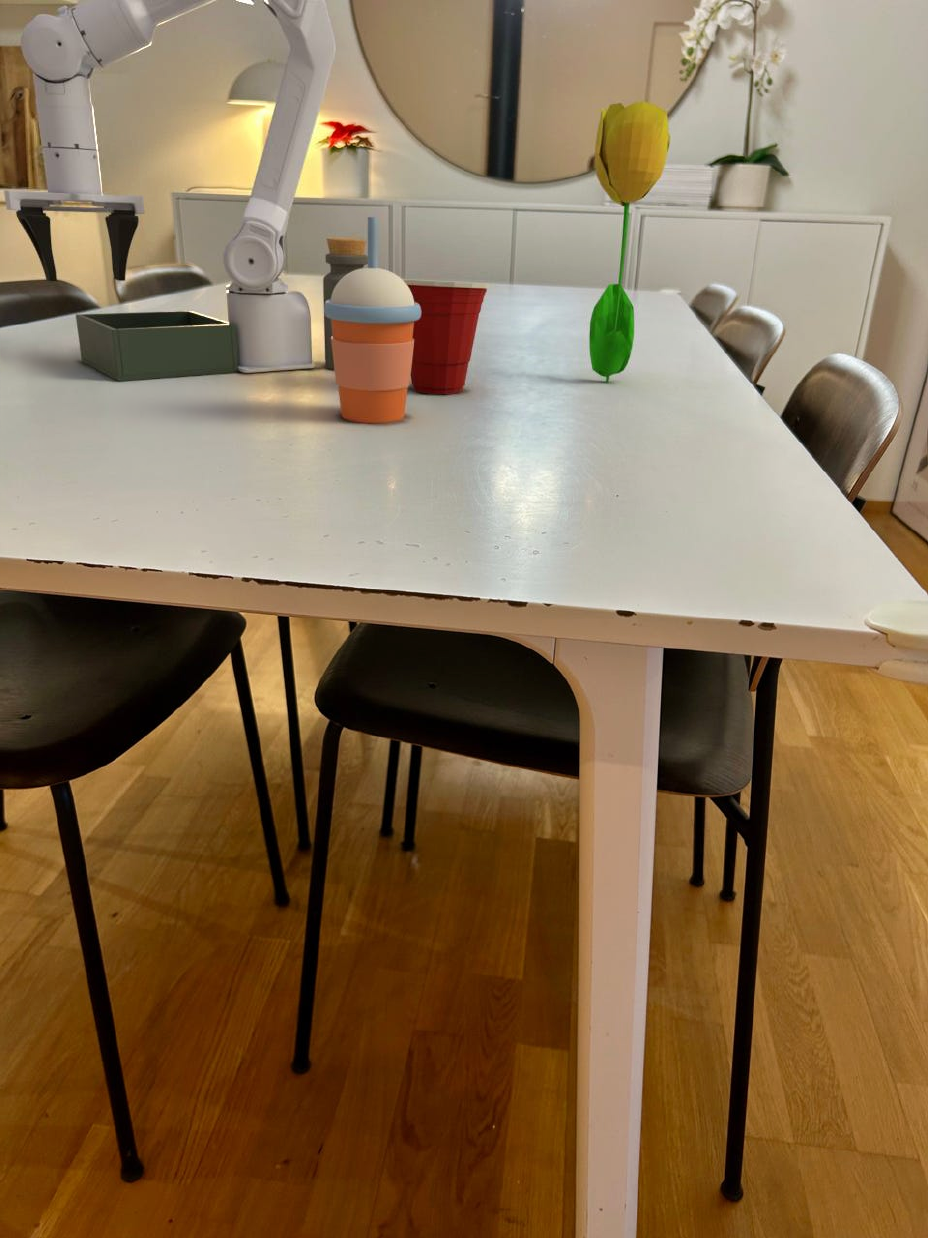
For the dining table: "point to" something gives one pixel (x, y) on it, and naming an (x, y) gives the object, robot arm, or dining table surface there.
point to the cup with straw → (372, 340)
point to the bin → (157, 344)
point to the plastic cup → (444, 333)
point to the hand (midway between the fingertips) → (86, 280)
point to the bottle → (340, 277)
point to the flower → (627, 174)
